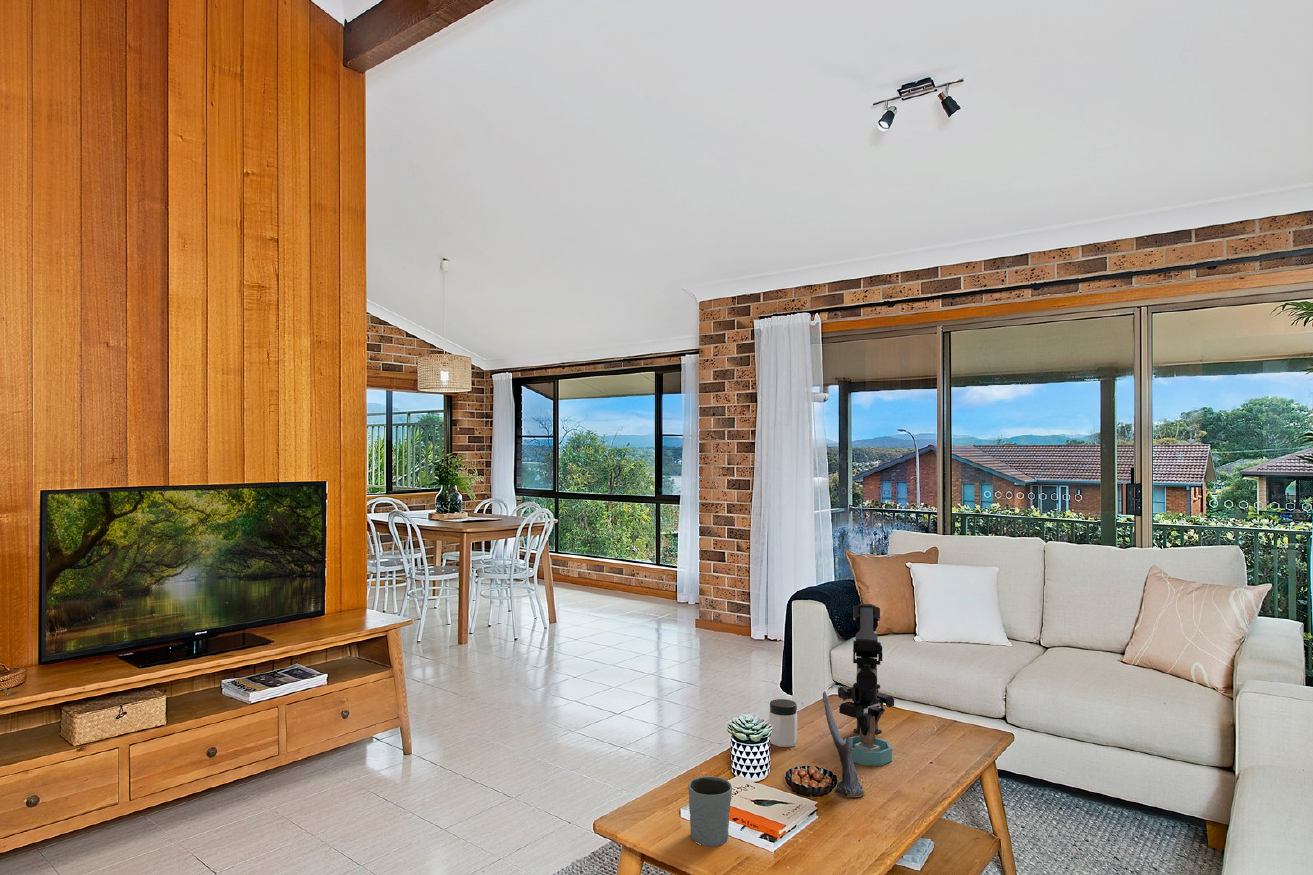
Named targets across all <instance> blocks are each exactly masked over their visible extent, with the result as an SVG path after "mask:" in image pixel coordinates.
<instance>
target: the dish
mask: <svg viewBox="0 0 1313 875" xmlns="http://www.w3.org/2000/svg"><path fill="white" fill-rule="evenodd" d="M850 738H851V739H852V740H853V745H852V761H853V763H855V764H859V765H861V766H879V767H880V766H884V765H885V764H888V763H891V762H893V748H892V746H891V744H890V741H887V740H884V739H881V738H880V737H879V738H878V737H876V736H875V744H874V745H871V746H869V745H866V744H863V743H861V742H860V735H854V736H851V737H850ZM843 741H844V743H846V738H844V739H843Z"/></svg>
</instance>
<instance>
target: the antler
mask: <svg viewBox="0 0 1313 875" xmlns="http://www.w3.org/2000/svg"><path fill="white" fill-rule="evenodd" d="M822 701H823V705H824V710H825V716H826V722H827V725H828V729H829V731H830V735H831V738H832V741H833V742H834V746H835V748H836V750H837V753H838V756H839V761H840V763H841V767H842V768H841V769H842V771H841V772H842V774H841V781H839V782H838V783H837V784H836V788H835V789H834V793H835V794H836V795H839V796H841V797H844V798H846V799H848V798H860V797H862V796H863V795H865V792H866V791H865V790H863V789H864V787H863V785H861V783H860V782H859V778H858V772H857V770H856V767H855V764H854V762H853V761H852V745H853V740H852V739H851V737H850V736H847V737H846V738H845V739H846V743H844V739H843V737H842V736H841V733H840V730H839V729H838V726H837V723H836V720H835V716H834V713H833V710H832V707H831V704H830V701H829V697H828V695H827V692H826V691H823V692H822Z"/></svg>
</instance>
